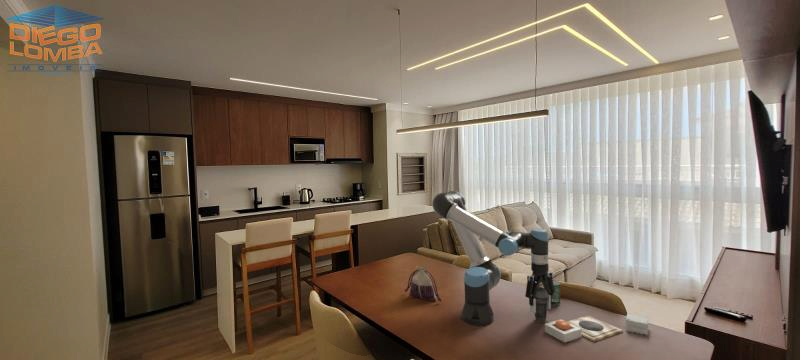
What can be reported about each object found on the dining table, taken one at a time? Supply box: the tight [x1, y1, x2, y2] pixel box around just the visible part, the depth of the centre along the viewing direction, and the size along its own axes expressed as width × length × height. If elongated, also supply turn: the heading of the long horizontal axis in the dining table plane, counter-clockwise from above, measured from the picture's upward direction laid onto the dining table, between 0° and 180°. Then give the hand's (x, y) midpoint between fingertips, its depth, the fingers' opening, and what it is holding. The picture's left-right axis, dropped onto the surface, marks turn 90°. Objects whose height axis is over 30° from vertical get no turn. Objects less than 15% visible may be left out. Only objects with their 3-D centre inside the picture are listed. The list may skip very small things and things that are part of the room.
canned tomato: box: [551, 279, 561, 306], centre depth 175 cm, size 8×8×11 cm
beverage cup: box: [534, 284, 549, 323], centre depth 156 cm, size 7×7×20 cm
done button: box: [555, 319, 570, 331], centre depth 142 cm, size 6×6×2 cm
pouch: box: [404, 265, 442, 303], centre depth 186 cm, size 25×8×19 cm, turn 58°
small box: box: [625, 313, 649, 336], centre depth 145 cm, size 8×8×5 cm
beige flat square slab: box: [566, 314, 623, 343], centre depth 146 cm, size 18×16×1 cm
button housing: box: [544, 318, 582, 343], centre depth 142 cm, size 10×10×4 cm
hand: (540, 309), depth 156 cm, fingers open, 9 cm apart
